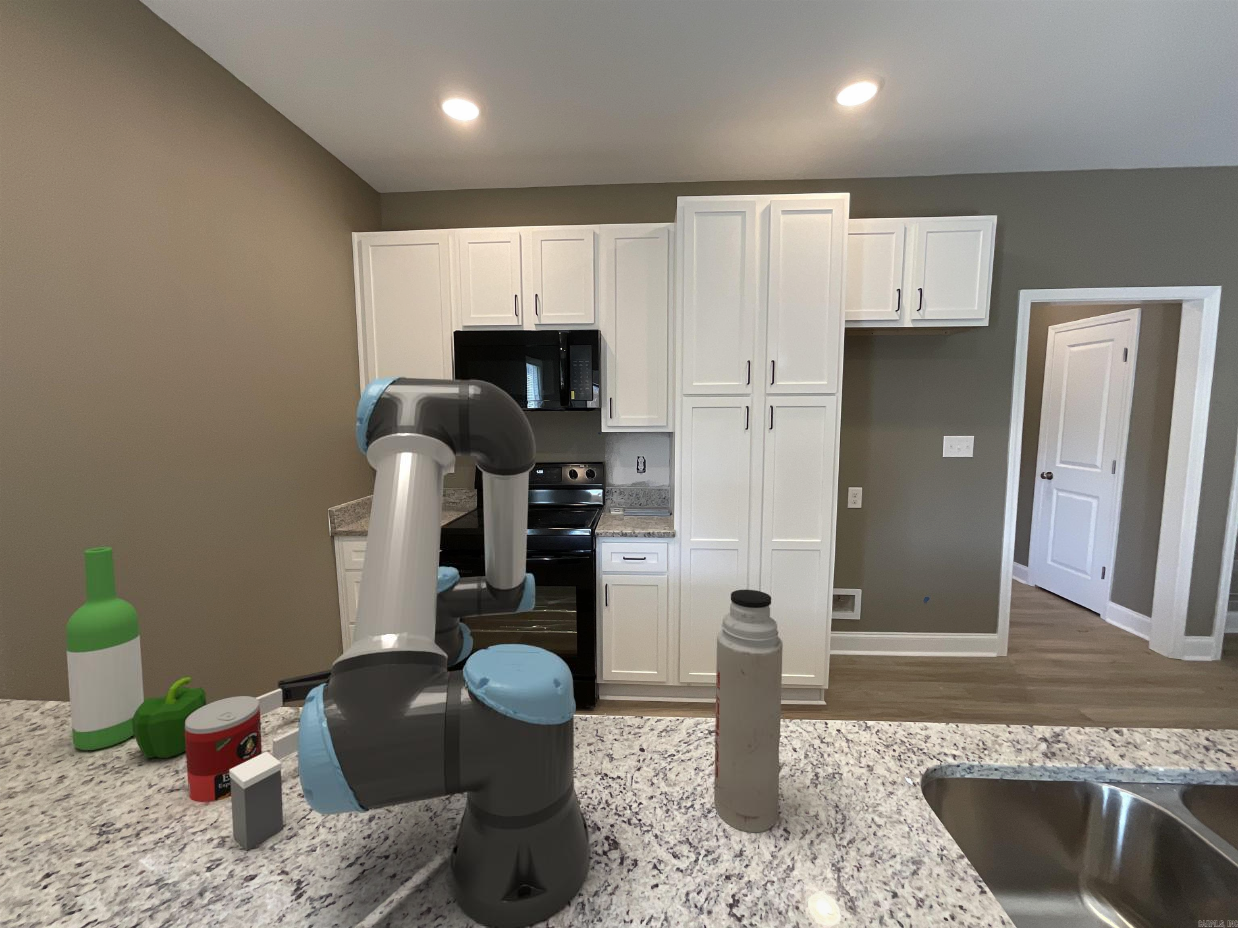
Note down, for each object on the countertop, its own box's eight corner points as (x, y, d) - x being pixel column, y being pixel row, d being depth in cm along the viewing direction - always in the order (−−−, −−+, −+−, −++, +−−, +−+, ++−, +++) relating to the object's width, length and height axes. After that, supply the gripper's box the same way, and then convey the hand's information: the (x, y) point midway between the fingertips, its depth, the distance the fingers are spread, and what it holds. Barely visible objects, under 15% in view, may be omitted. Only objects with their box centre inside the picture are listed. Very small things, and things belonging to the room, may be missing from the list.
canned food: (222, 817, 60) (218, 732, 59) (171, 806, 61) (167, 724, 61) (277, 774, 67) (274, 698, 67) (231, 766, 69) (227, 692, 68)
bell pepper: (144, 775, 67) (140, 706, 66) (126, 754, 71) (122, 689, 71) (219, 742, 74) (215, 680, 73) (198, 725, 78) (195, 666, 78)
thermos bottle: (706, 818, 60) (710, 598, 58) (722, 777, 67) (726, 580, 65) (773, 842, 56) (779, 609, 55) (782, 796, 64) (787, 589, 62)
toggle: (284, 828, 56) (281, 762, 56) (246, 851, 53) (243, 781, 53) (269, 815, 58) (266, 751, 58) (232, 836, 55) (229, 769, 55)
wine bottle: (136, 717, 81) (125, 541, 79) (152, 732, 77) (141, 547, 75) (66, 742, 74) (53, 550, 72) (81, 760, 70) (67, 558, 68)
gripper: (438, 712, 79) (296, 794, 61) (354, 671, 92) (217, 729, 74) (437, 668, 78) (294, 737, 60) (353, 633, 91) (214, 682, 73)
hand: (251, 733), depth 67 cm, fingers open, 13 cm apart
